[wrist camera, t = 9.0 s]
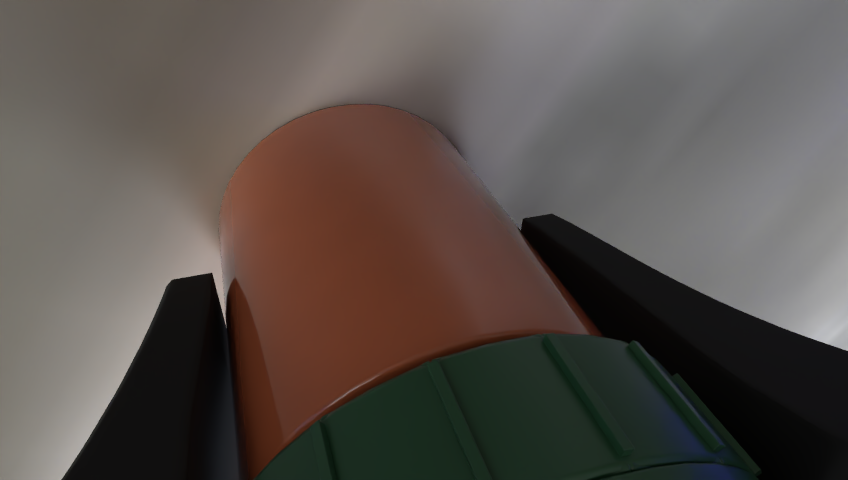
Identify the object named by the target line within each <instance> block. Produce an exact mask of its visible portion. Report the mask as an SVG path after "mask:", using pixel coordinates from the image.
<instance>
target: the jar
mask: <svg viewBox="0 0 848 480" xmlns="http://www.w3.org/2000/svg"><path fill="white" fill-rule="evenodd" d="M219 240H220V252H221V264H222V277H223V289H224V301H225V314H226V326H227V338H228V351H229V363H230V375H231V388H232V400H233V412H234V424H235V437H236V449H237V461H238V474H239V480H253V479H254V478H255V477H256V476H257V475H258V474H259V473H260V472H261V471H262V470H263V469H264V468H265V466H266V465H267V464H268V463H269V462H270V461H271V460H272V459H273V458H274V457H275V456H276V455H277V454H278V453H279V452H281V451H282V450H283V449H284V448H285V447H286V446H288V445H289V444H290V443H291V442H292V441H293V440H295V439H296V438H297V437H298V436H299V435H300V434H302V433H303V432H304V431H305V430H307V429H308V428H309V427H310V426H311V425H312V424H313V423H315V422H316V421H317V420H320V419H321V417H322V416H324V415H326V414H328V413H330V412H332V411H334V410H335V409H337V408H339V407H340V406H342V405H344V404H345V403H347V402H349V401H351V400H352V399H354V398H356V397H357V396H359V395H361V394H363V393H364V392H366V391H368V390H370V389H371V388H373V387H375V386H377V385H379V384H381V383H383V382H386V381H388V380H390V379H392V378H394V377H396V376H398V375H400V374H402V373H405V372H407V371H409V370H411V369H413V368H415V367H417V366H419V365H421V364H423V363H425V362H427V361H430V362H431V360H433V359H435V358H439V357H444V356H448V355H450V354H454V353H457V352H461V351H464V350H468V349H471V348H475V347H478V346H482V345H485V344H489V343H494V342H499V341H505V340H510V339H515V338H520V337H527V336H531V335H535V334H544V333H545V334H548V333H555V334H587V335H593V336H599V337H604V335H603V334H602V333H601V332H600V330H599V329H598V328H597V327H596V325H595V324H594V323H593V321H592V320H591V319H590V318H589V316H588V315H587V314H586V313H585V311H584V310H583V309H582V308H581V306H580V305H579V304H578V303H577V301H576V300H575V299H574V297H573V296H572V295H571V294H570V292H569V291H568V290H567V289H566V287H565V286H564V285H563V284H562V282H561V281H560V280H559V278H558V277H557V276H556V275H555V273H554V272H553V271H552V270H551V268H550V267H549V266H548V265H547V263H546V262H545V261H544V260H543V258H542V257H541V256H540V254H539V253H538V252H537V251H536V249H535V248H534V247H533V246H532V244H531V243H530V242H529V241H528V239H527V238H526V237H525V235H524V234H523V233H522V232H521V230H520V229H519V228H518V227H517V225H516V224H515V223H514V222H513V220H512V219H511V218H510V216H509V215H508V214H507V213H506V211H505V210H504V209H503V208H502V206H501V205H500V204H499V203H498V201H497V200H496V199H495V198H494V196H493V195H492V194H491V192H490V191H489V190H488V189H487V187H486V186H485V185H484V184H483V182H482V181H481V180H480V179H479V177H478V176H477V175H476V173H475V172H474V171H473V170H472V168H471V167H470V166H469V165H468V163H467V162H466V161H465V160H464V158H463V157H462V156H461V155H460V153H459V152H458V151H457V149H456V148H455V147H454V146H453V144H452V143H451V142H450V141H449V140H448V139H447V138H446V137H445V136H444V134H443V133H441V132H440V131H439V130H438V129H436V128H435V127H434V126H433V125H431V124H430V123H428V122H426V121H425V120H423V119H421V118H420V117H418V116H415V115H413V114H410V113H408V112H405V111H403V110H399V109H395V108H391V107H387V106H380V105H370V104H353V105H342V106H336V107H329V108H326V109H322V110H319V111H315V112H311V113H309V114H307V115H304V116H302V117H299V118H297V119H294V120H293V121H291V122H289V123H287V124H286V125H284V126H282V127H280V128H278V129H277V130H275V131H274V132H273V133H271V134H270V135H269V136H267V137H266V138H265V139H263V140H262V141H261V142H260V143H259V144H258V145H257V146H256V147H255V148H254V149H253V150H252V151H251V152H250V153H249V154H248V155H247V156H246V157H245V159H244V160H243V161H242V163H241V164H240V165H239V166H238V168H237V169H236V171H235V173H234V175H233V176H232V178H231V180H230V182H229V183H228V186H227V189H226V191H225V194H224V196H223V199H222V204H221V209H220V213H219Z"/></svg>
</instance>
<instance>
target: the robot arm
mask: <svg viewBox="0 0 848 480" xmlns="http://www.w3.org/2000/svg"><path fill="white" fill-rule="evenodd" d="M521 232H522V233H523V234H524V235H525V237H526V238H527V239H528V241H529V242H530V243H531V244H532V246H533V247H534V248H535V249H536V251H537V252H538V253H539V254H540V256H541V257H542V258H543V260H544V261H545V262H546V263H547V265H548V266H549V267H550V268H551V270H552V271H553V272H554V273H555V275H556V276H557V277H558V278H559V280H560V281H561V282H562V284H563V285H564V286H565V287H566V289H567V290H568V291H569V292H570V294H571V295H572V296H573V297H574V299H575V300H576V301H577V303H578V304H579V305H580V306H581V308H582V309H583V310H584V311H585V313H586V314H587V315H588V316H589V318H590V319H591V320H592V321H593V323H594V324H595V325H596V327H597V328H598V329H599V330H600V332H601V333H602V334H603V335H604V337H605V338H611V339H615V340H621V341H623V342H626V343H628V344H630V343H631V342H632V341H633V340H634V341H637V342H639V343H640V345H641V346H642V347H643V348H644V349H645V351H646V352H647V353H648V354H649V355H650V356H652V357H654V358H655V359H656V360H657V361H658V362H659V363H660V364H661V365H662V366H663V367H664V368H665V369H666V370H667V371H668V372H669V373H670V375H671V376H673V375H675V374H676V373H678V374H679V375H680V377H681V378H682V379H683V380H684V381H685V382H686V383H687V385H688V386H689V387H690V388H691V389H692V390H693V392H694V393H695V394H696V395H697V396H698V397H699V399H700V400H701V401H702V402H703V403H704V404H705V405H706V407H707V408H708V409H709V410H710V411H711V412H712V414H713V415H714V416H715V417H716V418H717V419H718V420H719V422H720V423H721V424H722V425H723V426H724V427H725V429H726V430H727V431H728V432H729V433H730V434H731V435H732V437H733V438H734V439H735V440H736V441H737V442H738V444H739V445H740V446H741V447H742V448H743V449H744V450H745V452H746V453H747V454H748V455H749V456H750V457H751V459H752V460H753V461H754V462H755V463H756V464H757V466H758V467H759V468H760V469H761V471H762V473H761V474H760V475H758V476H757V478H758V479H759V480H848V351H846V350H843V349H840V348H837V347H834V346H831V345H828V344H825V343H822V342H819V341H816V340H813V339H811V338H808V337H805V336H802V335H799V334H797V333H794V332H791V331H789V330H786V329H783V328H781V327H778V326H776V325H773V324H771V323H769V322H766V321H764V320H761V319H759V318H756V317H754V316H752V315H749V314H747V313H744V312H742V311H739V310H737V309H735V308H733V307H730V306H728V305H726V304H724V303H721V302H719V301H717V300H715V299H713V298H711V297H709V296H707V295H705V294H702V293H700V292H698V291H696V290H694V289H692V288H690V287H688V286H686V285H684V284H682V283H680V282H678V281H676V280H674V279H672V278H670V277H668V276H666V275H664V274H662V273H661V272H659V271H657V270H655V269H653V268H651V267H649V266H647V265H646V264H644V263H642V262H640V261H638V260H636V259H635V258H633V257H631V256H629V255H627V254H626V253H624V252H622V251H620V250H618V249H617V248H615V247H613V246H611V245H609V244H608V243H606V242H604V241H602V240H601V239H599V238H597V237H595V236H593V235H592V234H590V233H588V232H586V231H584V230H583V229H581V228H579V227H577V226H575V225H573V224H572V223H570V222H568V221H566V220H564V219H562V218H560V217H558V216H556V215H554V214H547V215H542V216H536V217H530V218H524V219H523V221H522V227H521ZM62 480H239V474H238V461H237V449H236V437H235V424H234V412H233V400H232V388H231V375H230V363H229V351H228V338H227V328H226V325H225V321H224V317H223V313H222V309H221V305H220V302H219V298H218V294H217V290H216V286H215V282H214V279H213V275H212V273H208V274H203V275H197V276H191V277H185V278H180V279H174V280H172V281H171V282H170V283H169V284H168V285H167V286H166V289H165V292H164V294H163V297H162V299H161V302H160V304H159V307H158V309H157V311H156V314H155V316H154V318H153V320H152V323H151V325H150V327H149V329H148V331H147V333H146V335H145V338H144V340H143V342H142V344H141V346H140V348H139V350H138V352H137V354H136V356H135V357H134V359H133V361H132V363H131V365H130V367H129V369H128V371H127V373H126V375H125V377H124V379H123V380H122V382H121V384H120V386H119V388H118V390H117V391H116V393H115V395H114V397H113V398H112V400H111V402H110V403H109V405H108V407H107V408H106V410H105V412H104V413H103V415H102V417H101V419H100V420H99V422H98V424H97V425H96V427H95V429H94V430H93V432H92V434H91V435H90V437H89V439H88V440H87V442H86V443H85V445H84V447H83V448H82V450H81V451H80V453H79V454H78V456H77V457H76V459H75V460H74V462H73V463H72V465H71V467H70V468H69V470H68V471H67V472H66V474H65V475H64V477H63V478H62Z"/></svg>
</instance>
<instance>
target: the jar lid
mask: <svg viewBox="0 0 848 480" xmlns="http://www.w3.org/2000/svg"><path fill="white" fill-rule="evenodd" d="M761 473H762V471H761V469H760V468H759V467H758V466H757V464H756V463H755V462H754V461H753V460H752V459H751V457H750V456H749V455H748V454H747V453H746V452H745V450H744V449H743V448H742V447H741V446H740V445H739V444H738V442H737V441H736V440H735V439H734V438H733V437H732V435H731V434H730V433H729V432H728V431H727V430H726V429H725V427H724V426H723V425H722V424H721V423H720V422H719V420H718V419H717V418H716V417H715V416H714V415H713V414H712V412H711V411H710V410H709V409H708V408H707V407H706V405H705V404H704V403H703V402H702V401H701V400H700V399H699V397H698V396H697V395H696V394H695V393H694V392H693V390H692V389H691V388H690V387H689V386H688V385H687V383H686V382H685V381H684V380H683V379H682V378H681V377H680V375H679V374H678V373H676V374H675V375H673V376H671V375H670V373H669V372H668V371H667V370H666V369H665V368H664V367H663V366H662V365H661V364H660V363H659V362H658V361H657V360H656V359H655V358H654V357H652V356H650V355H649V354H648V353H647V352H646V351H645V349H644V348H643V347H642V346H641V345H640V343H639V342H637V341H634V340H633V341H632V342H631V343H630V344H628V343H626V342H623V341H621V340H615V339H611V338H605V337H599V336H593V335H587V334H555V333H548V334H545V333H544V334H535V335H531V336H527V337H520V338H515V339H510V340H505V341H499V342H494V343H489V344H485V345H482V346H478V347H475V348H471V349H468V350H464V351H461V352H457V353H454V354H450V355H448V356H444V357H439V358H435V359H433V360H431V362H430V361H427V362H425V363H423V364H421V365H419V366H417V367H415V368H413V369H411V370H409V371H407V372H405V373H402V374H400V375H398V376H396V377H394V378H392V379H390V380H388V381H386V382H383V383H381V384H379V385H377V386H375V387H373V388H371V389H370V390H368V391H366V392H364V393H363V394H361V395H359V396H357V397H356V398H354V399H352V400H351V401H349V402H347V403H345V404H344V405H342V406H340V407H339V408H337V409H335V410H334V411H332V412H330V413H328V414H326V415H324V416H322V417H321V419H320V420H317V421H316V422H315V423H313V424H312V425H311V426H310V427H309V428H308V429H307V430H305V431H304V432H303V433H302V434H300V435H299V436H298V437H297V438H296V439H295V440H293V441H292V442H291V443H290V444H289V445H288V446H286V447H285V448H284V449H283V450H282V451H281V452H279V453H278V454H277V455H276V456H275V457H274V458H273V459H272V460H271V461H270V462H269V463H268V464H267V465H266V466H265V468H264V469H263V470H262V471H261V472H260V473H259V474H258V475H257V476H256V477H255V478H254V479H253V480H759V479H758V478H757V476H758V475H760V474H761Z"/></svg>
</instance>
